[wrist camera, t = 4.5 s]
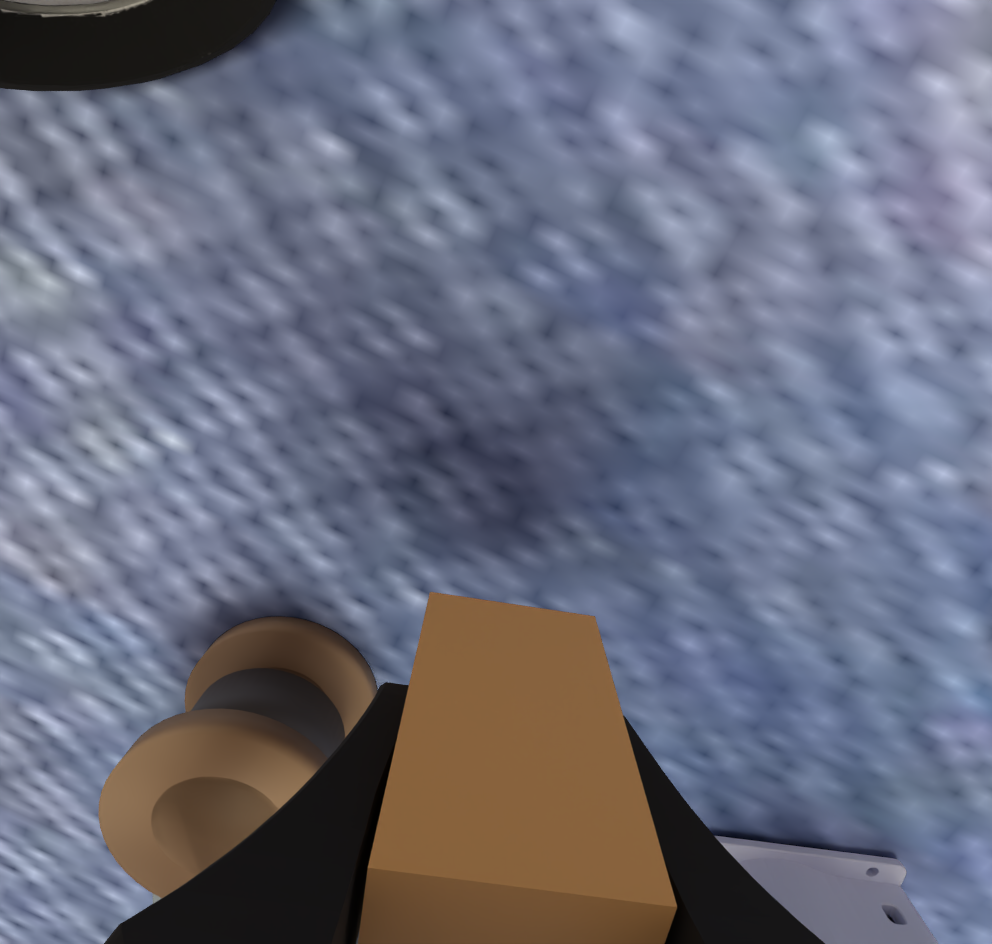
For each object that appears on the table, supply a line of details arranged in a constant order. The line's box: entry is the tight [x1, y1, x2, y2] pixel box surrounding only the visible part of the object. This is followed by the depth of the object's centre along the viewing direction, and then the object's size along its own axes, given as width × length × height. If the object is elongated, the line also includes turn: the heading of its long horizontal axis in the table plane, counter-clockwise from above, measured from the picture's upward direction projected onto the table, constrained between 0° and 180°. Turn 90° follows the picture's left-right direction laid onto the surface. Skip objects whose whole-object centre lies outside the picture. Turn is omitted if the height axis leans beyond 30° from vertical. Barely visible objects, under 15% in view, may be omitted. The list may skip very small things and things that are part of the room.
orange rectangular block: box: [358, 592, 677, 944], centre depth 12 cm, size 4×4×7 cm
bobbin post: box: [99, 616, 377, 898], centre depth 20 cm, size 7×7×6 cm
